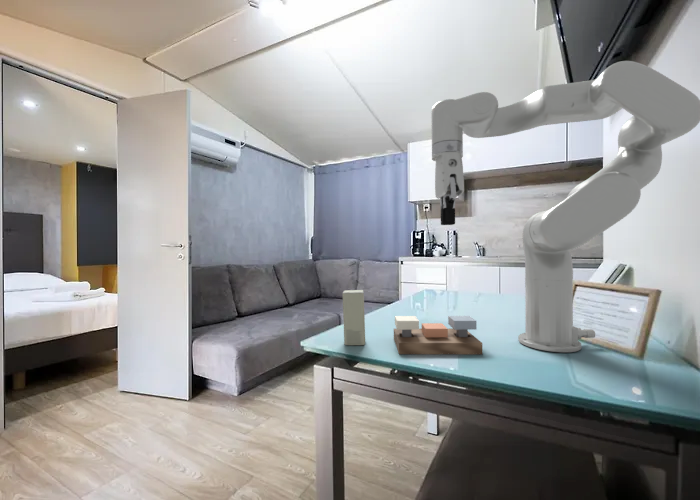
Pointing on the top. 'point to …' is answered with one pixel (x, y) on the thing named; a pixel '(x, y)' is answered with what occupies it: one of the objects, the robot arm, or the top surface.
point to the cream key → (406, 324)
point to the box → (353, 317)
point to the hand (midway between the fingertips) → (447, 224)
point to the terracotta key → (434, 330)
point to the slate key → (462, 324)
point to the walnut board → (436, 343)
